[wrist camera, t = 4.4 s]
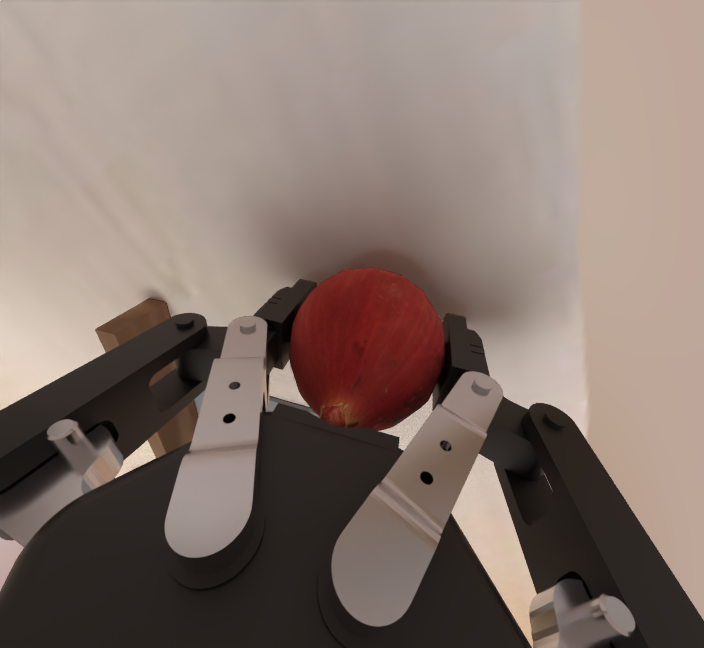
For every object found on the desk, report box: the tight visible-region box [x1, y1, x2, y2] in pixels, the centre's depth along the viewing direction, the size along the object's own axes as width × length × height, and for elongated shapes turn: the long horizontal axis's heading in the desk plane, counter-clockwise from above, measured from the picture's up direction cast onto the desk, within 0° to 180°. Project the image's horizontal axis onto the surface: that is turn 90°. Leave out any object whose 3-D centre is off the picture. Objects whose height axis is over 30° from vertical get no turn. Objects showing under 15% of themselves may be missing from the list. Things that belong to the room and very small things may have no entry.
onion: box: [289, 268, 446, 431], centre depth 11 cm, size 6×6×8 cm
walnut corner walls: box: [95, 299, 198, 458], centre depth 20 cm, size 21×18×4 cm
